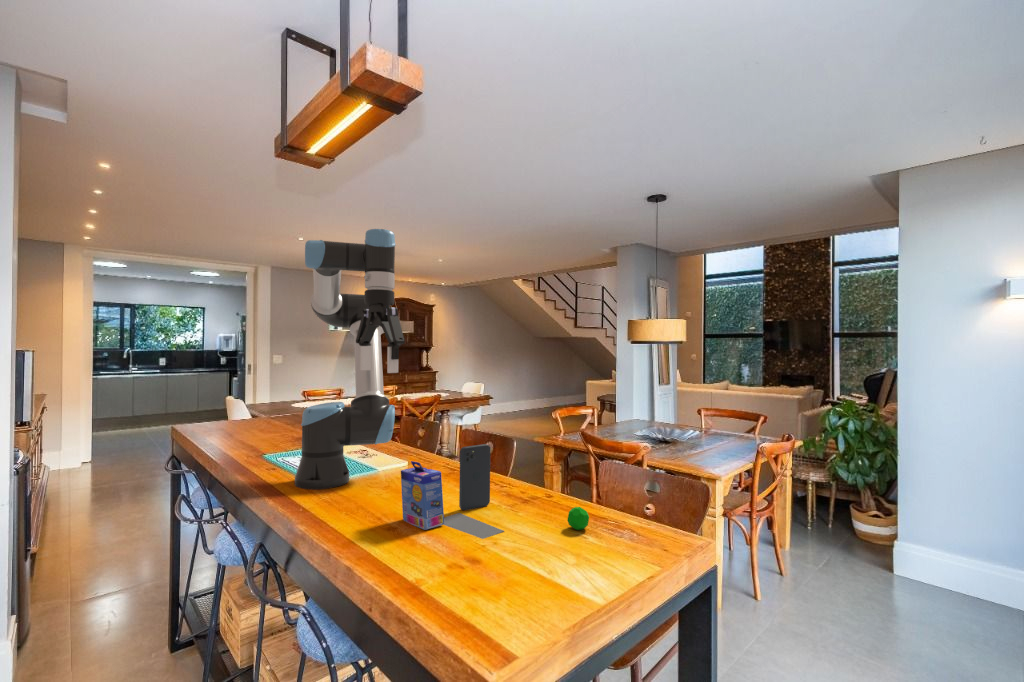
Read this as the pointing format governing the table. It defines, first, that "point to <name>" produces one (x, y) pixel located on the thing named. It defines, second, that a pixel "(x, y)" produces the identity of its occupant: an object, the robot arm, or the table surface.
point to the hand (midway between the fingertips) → (378, 371)
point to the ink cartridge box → (422, 497)
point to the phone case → (474, 477)
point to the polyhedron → (578, 518)
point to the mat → (471, 526)
